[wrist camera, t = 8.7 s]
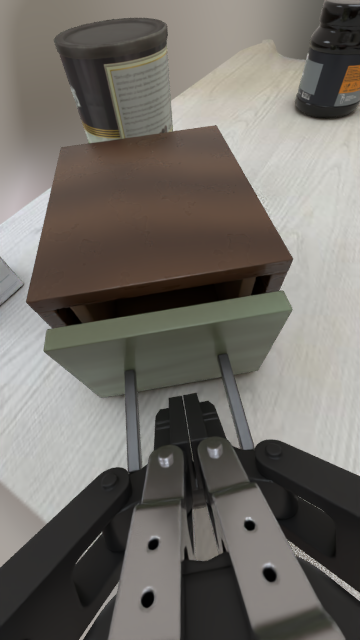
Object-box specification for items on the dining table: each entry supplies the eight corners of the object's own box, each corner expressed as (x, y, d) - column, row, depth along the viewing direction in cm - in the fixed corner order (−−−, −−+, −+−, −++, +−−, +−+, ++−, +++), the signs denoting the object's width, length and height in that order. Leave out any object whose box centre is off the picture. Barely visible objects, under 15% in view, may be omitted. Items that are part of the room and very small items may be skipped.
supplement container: (370, 112, 42) (426, -4, 32) (315, 125, 41) (354, 8, 30) (331, 93, 47) (367, -12, 37) (281, 103, 46) (305, -2, 36)
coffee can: (96, 208, 32) (36, 49, 20) (111, 167, 37) (70, 23, 26) (176, 205, 31) (162, 38, 19) (179, 163, 37) (169, 13, 25)
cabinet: (254, 348, 20) (293, 259, 12) (97, 375, 20) (25, 302, 11) (211, 226, 29) (216, 124, 20) (100, 243, 28) (60, 147, 20)
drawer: (297, 482, 14) (382, 486, 8) (98, 519, 14) (9, 558, 7) (213, 240, 26) (218, 158, 19) (103, 257, 26) (69, 180, 19)
